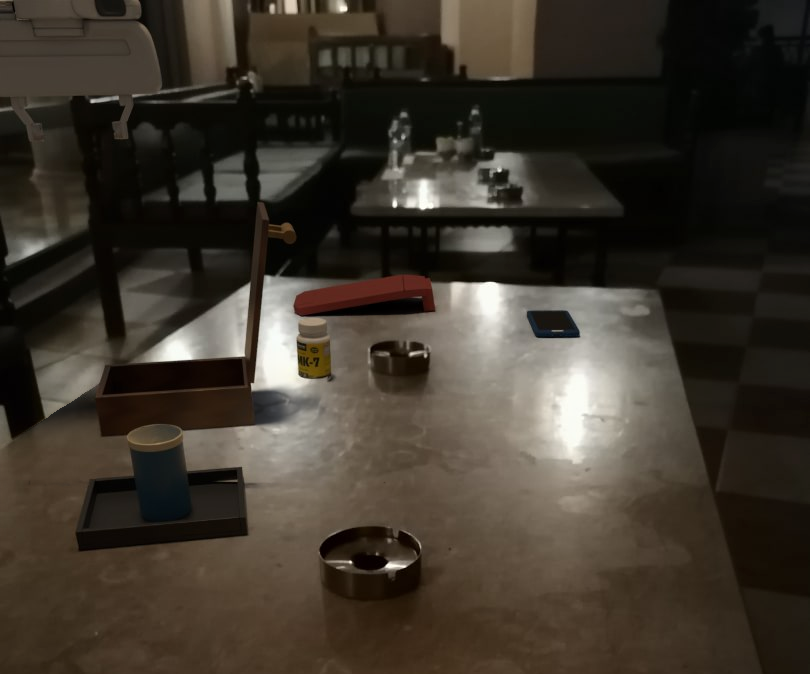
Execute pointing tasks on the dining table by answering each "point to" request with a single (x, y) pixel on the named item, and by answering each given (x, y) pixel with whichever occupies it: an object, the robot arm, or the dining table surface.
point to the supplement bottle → (313, 349)
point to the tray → (123, 524)
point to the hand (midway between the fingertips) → (79, 139)
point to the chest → (174, 395)
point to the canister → (160, 472)
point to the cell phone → (552, 323)
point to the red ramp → (365, 294)
